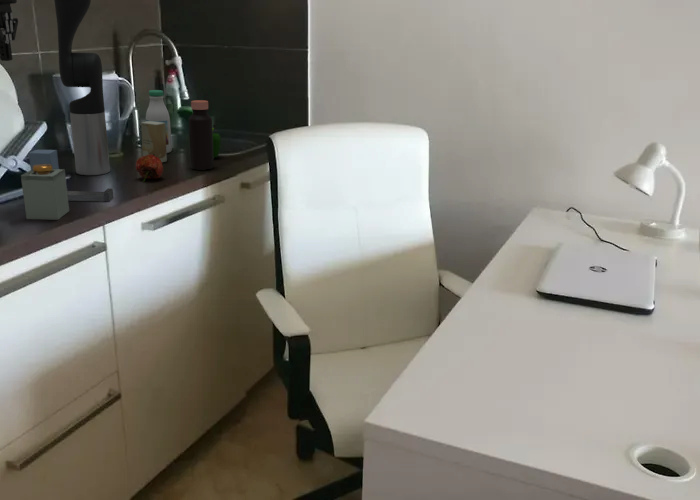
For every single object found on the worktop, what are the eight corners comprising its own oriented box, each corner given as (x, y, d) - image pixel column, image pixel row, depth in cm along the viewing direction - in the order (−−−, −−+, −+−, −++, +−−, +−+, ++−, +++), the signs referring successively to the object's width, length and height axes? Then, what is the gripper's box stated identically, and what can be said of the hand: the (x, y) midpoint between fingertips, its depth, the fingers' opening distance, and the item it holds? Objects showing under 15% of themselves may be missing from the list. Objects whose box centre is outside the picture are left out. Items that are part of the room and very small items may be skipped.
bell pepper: (188, 157, 220) (187, 126, 216) (209, 154, 226) (208, 124, 222) (205, 161, 214) (204, 130, 211) (225, 158, 220) (224, 127, 217)
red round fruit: (160, 190, 189) (173, 163, 194) (146, 173, 183) (160, 145, 189) (138, 190, 192) (151, 163, 197) (124, 173, 186) (138, 145, 191)
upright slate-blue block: (42, 194, 172) (37, 149, 168) (62, 194, 172) (57, 149, 169) (33, 200, 167) (27, 153, 163) (54, 200, 167) (48, 154, 163)
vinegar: (194, 165, 209) (191, 99, 202) (216, 166, 209) (213, 100, 202) (188, 170, 203) (185, 102, 196) (211, 171, 203) (208, 103, 196)
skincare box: (142, 161, 212) (139, 122, 208) (151, 159, 216) (148, 120, 212) (159, 164, 210) (157, 124, 206) (168, 161, 214) (165, 122, 210)
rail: (31, 196, 171) (30, 186, 170) (113, 197, 172) (112, 188, 171) (25, 199, 168) (24, 190, 167) (109, 201, 169) (108, 192, 168)
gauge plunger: (40, 193, 157) (36, 163, 155) (58, 194, 157) (54, 164, 155) (33, 198, 153) (29, 167, 151) (51, 198, 154) (48, 168, 151)
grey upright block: (39, 210, 160) (33, 168, 157) (69, 210, 160) (64, 169, 157) (26, 219, 153) (20, 175, 150) (58, 219, 154) (53, 176, 150)
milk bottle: (153, 148, 231) (149, 88, 224) (175, 150, 230) (172, 89, 223) (144, 153, 224) (139, 91, 217) (166, 154, 223) (162, 92, 216)
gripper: (-1, -20, 148) (10, 63, 153) (25, -18, 160) (34, 59, 166) (-36, -21, 147) (-24, 62, 153) (-8, -19, 160) (2, 58, 166)
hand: (6, 60), depth 159 cm, fingers closed
